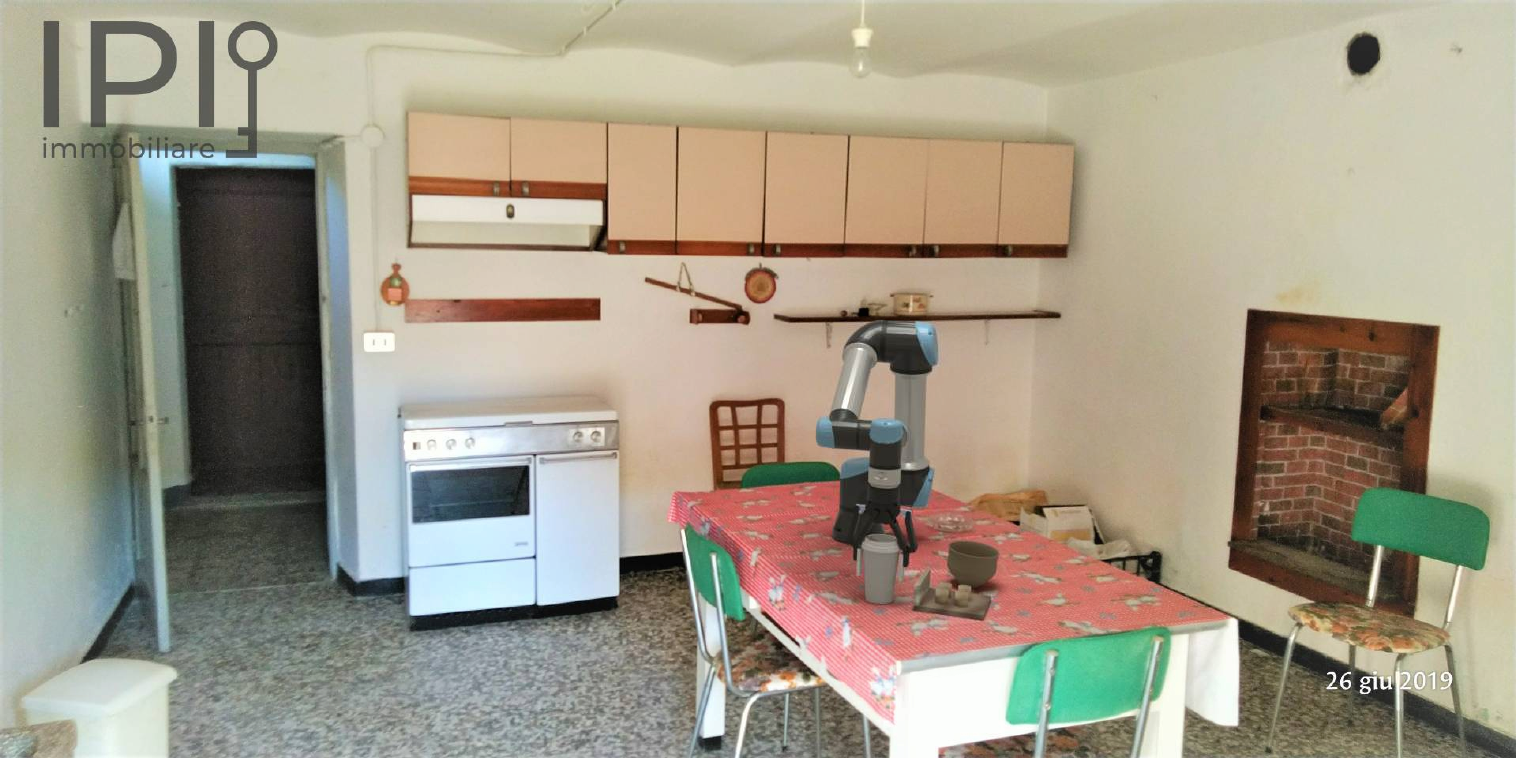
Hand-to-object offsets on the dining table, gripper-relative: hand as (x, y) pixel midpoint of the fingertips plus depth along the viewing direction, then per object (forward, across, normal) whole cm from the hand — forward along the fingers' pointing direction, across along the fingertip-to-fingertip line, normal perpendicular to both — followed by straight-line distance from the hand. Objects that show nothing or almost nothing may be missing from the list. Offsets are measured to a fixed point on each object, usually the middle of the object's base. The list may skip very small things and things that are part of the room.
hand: (880, 576), depth 241 cm
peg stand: (+6, +17, +3) cm, 18 cm away
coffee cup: (+6, 0, 0) cm, 6 cm away
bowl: (+6, +19, +20) cm, 28 cm away
